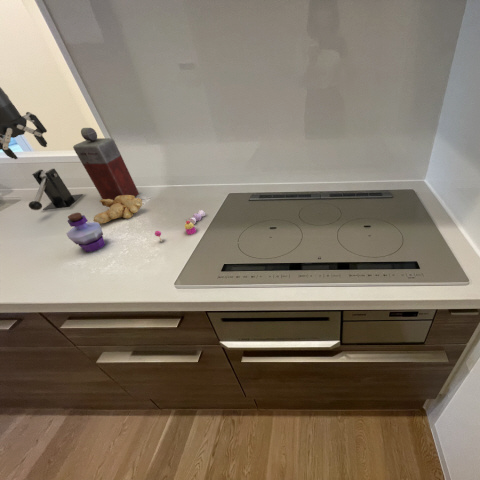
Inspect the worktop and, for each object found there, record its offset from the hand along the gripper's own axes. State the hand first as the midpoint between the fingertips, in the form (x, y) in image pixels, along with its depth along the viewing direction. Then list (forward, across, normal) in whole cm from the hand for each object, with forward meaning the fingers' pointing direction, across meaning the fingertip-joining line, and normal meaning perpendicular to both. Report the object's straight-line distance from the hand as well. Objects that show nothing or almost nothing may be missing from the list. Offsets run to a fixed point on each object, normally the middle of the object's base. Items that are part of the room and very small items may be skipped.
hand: (29, 151), depth 86 cm
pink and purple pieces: (+10, -7, +54) cm, 55 cm away
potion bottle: (+13, +12, +35) cm, 39 cm away
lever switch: (+26, 0, -4) cm, 26 cm away
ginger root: (+18, -5, +25) cm, 31 cm away
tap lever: (+17, +3, -3) cm, 18 cm away
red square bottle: (+23, -12, +13) cm, 29 cm away
